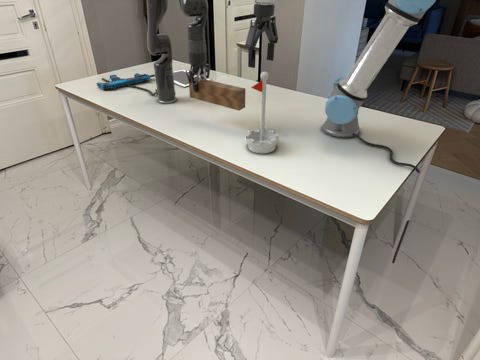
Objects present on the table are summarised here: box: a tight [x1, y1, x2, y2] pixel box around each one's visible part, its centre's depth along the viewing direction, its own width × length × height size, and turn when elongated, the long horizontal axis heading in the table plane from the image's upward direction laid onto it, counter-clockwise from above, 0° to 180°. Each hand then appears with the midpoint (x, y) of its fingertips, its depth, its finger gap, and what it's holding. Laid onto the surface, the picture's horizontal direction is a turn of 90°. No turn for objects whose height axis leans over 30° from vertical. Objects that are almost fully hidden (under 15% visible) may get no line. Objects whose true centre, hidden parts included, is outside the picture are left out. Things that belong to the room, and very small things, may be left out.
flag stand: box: [245, 71, 280, 154], centre depth 128 cm, size 13×13×30 cm
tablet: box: [173, 69, 212, 88], centre depth 216 cm, size 32×20×1 cm, turn 41°
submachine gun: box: [95, 72, 155, 91], centre depth 209 cm, size 34×4×25 cm
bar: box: [188, 78, 246, 111], centre depth 146 cm, size 27×4×8 cm, turn 55°
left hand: (199, 90), depth 151 cm, fingers closed on bar, 4 cm apart
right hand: (261, 63), depth 134 cm, fingers open, 13 cm apart
